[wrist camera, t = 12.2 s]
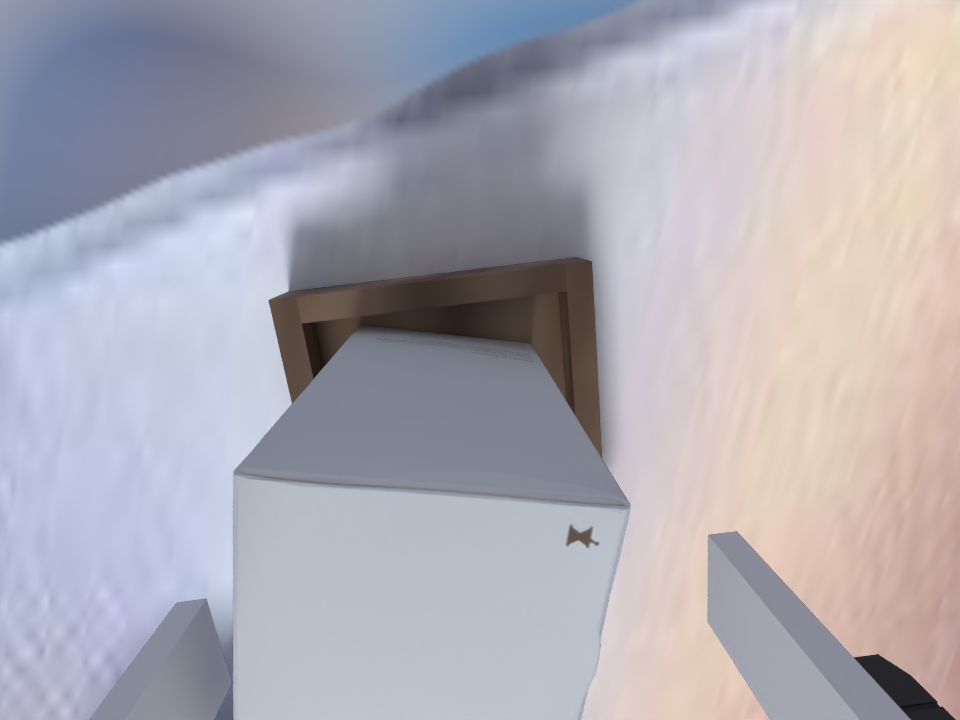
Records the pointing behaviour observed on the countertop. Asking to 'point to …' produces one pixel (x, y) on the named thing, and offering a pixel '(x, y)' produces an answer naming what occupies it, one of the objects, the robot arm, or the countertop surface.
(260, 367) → the countertop surface
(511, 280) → the brown wooden tray
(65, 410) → the countertop surface
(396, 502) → the supplement box
